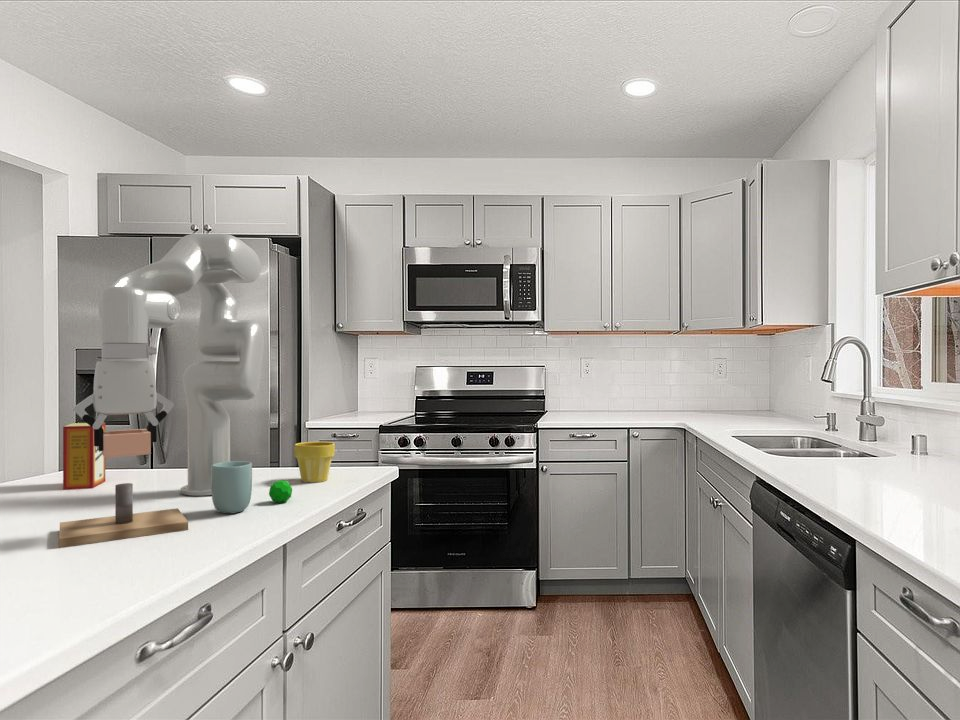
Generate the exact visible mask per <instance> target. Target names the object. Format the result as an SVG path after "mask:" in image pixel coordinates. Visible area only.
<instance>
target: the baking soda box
mask: <svg viewBox="0 0 960 720" xmlns="http://www.w3.org/2000/svg"><path fill="white" fill-rule="evenodd" d="M102 428H103V430H104V431H106V422H105V421H104V422H103V423H102ZM62 458H63V459H62V466H63V467H62V471H63V472H62V473H63V474H62V484H63V485H62V490H63V491H64V490H66V491H67V490H69V491H70V490H81V489H82V490H86V489H94V488H96V487H98V486H99V485H102V484H103V483H105V482H106V458H104V457H103V455H102V451H99V450H98V446H94V428H92V427H91V426H90V425H89V424H87V423H86V422H77V423H76V422H75V423H70V424H67V425H64V426H62Z"/></svg>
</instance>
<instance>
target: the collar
mask: <svg viewBox="0 0 960 720" xmlns="http://www.w3.org/2000/svg"><path fill="white" fill-rule="evenodd" d="M151 448H152V447H151V432H149V431H148V430H147V428H138V429H137V428H136V429H121V430H105V431H104V434H103V450H102V455H103V457H104V458H105V459H106V458H119V457H120V458H121V457H131V456H133V457H134V456H145V455H151V454H152V452H151V451H152V449H151Z"/></svg>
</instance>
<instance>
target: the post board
mask: <svg viewBox="0 0 960 720" xmlns="http://www.w3.org/2000/svg"><path fill="white" fill-rule="evenodd" d="M133 490H134V489H133V483H132V482H128V483H127V482H126V483H125V482H123V483H118V484H116V485H115V491H114V492H115V494H114V495H115V499H114V500H115V501H114V502H115V507H114V508H115V512H114V513H115V514H114V515H110V516H104V517H102V516H101V517H94V518H86V519H80V520H79V519H78V520H70V521H62V522H59V534H58V537H59V538H58V548H67V547H73V546H74V547H75V546H81V545H87V544H88V545H89V544H96V543H104V542H110V541H117V540H124V539H131V538H139V537H145V536H152V535H153V536H154V535H160V534H161V535H162V534H168V533H176V532H181V531H188V530H189V521H188V520H187V518H186V517H185V515H184V514H183V513H182V511H181V510H180V508H178V507H177V508H170V509H169V508H168V509H162V510H161V509H160V510H154V511H153V510H152V511H144V512H136V513H134V511H133V510H134V509H133V508H134V507H133V500H134V498H133V494H134V493H133Z"/></svg>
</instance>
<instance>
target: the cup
mask: <svg viewBox="0 0 960 720" xmlns="http://www.w3.org/2000/svg"><path fill="white" fill-rule="evenodd" d="M252 487H253V464H252V462H251V461H246V460H233V461H232V460H230V461H229V462H221V463H216V464H213V465H212V467H211V490H212V495H211V500H212V504H213V506H214V509H215V510H216V511H217V512H219V513H221V514H227V515H228V514H229V515H230V514H238V513H241V512H243V511H244V510H246V509H247V508H248V507H249V505H250V504H251V503H250V502H251V499H252V491H253V489H252Z"/></svg>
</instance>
